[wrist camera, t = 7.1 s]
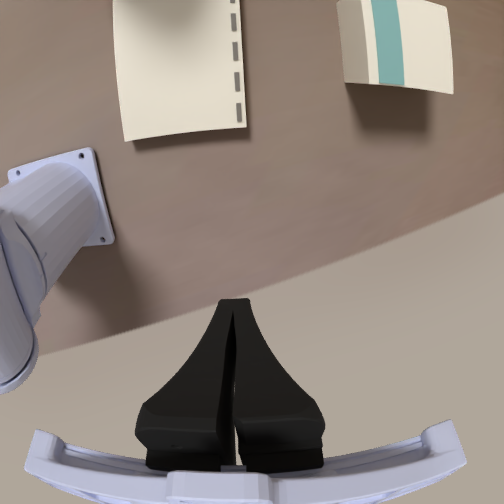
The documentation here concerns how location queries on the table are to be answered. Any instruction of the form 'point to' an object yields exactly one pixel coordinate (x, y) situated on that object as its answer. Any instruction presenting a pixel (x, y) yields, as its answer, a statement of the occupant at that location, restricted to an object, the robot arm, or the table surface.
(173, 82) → the ticket
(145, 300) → the table surface
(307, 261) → the table surface
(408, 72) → the teal striped cube
